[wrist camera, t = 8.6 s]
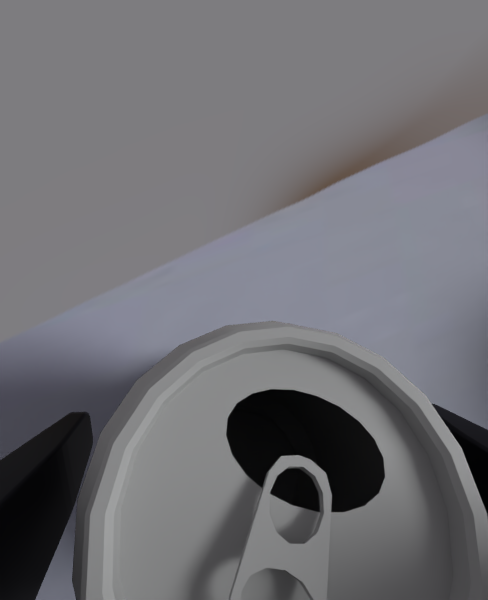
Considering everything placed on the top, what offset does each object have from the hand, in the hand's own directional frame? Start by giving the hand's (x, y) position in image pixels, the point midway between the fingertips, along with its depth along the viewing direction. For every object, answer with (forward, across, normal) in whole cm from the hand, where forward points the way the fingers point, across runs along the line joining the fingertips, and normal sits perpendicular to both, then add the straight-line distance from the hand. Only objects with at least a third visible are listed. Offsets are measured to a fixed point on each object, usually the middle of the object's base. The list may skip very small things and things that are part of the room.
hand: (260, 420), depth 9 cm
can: (+5, 0, +7) cm, 9 cm away
